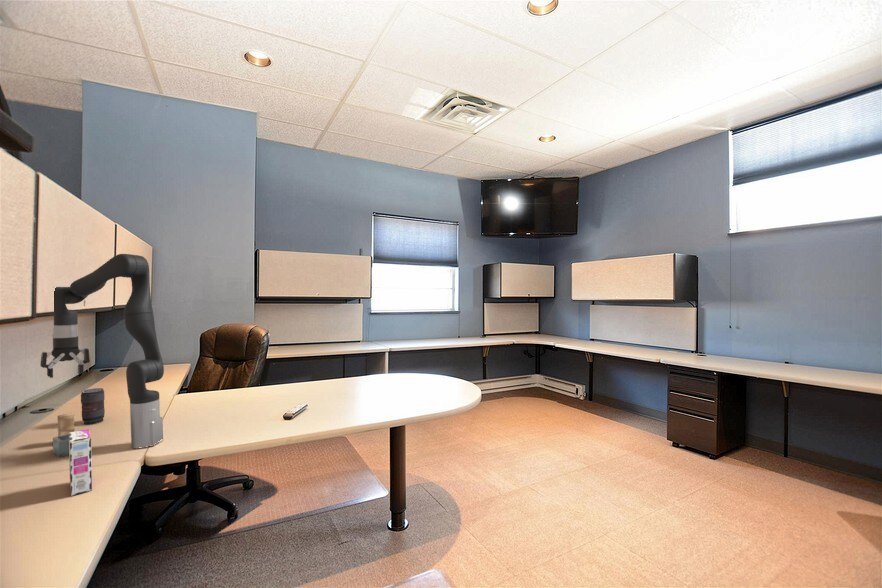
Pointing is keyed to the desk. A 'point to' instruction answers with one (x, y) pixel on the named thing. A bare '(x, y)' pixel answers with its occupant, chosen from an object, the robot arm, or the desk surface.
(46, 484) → the desk surface
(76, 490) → the candy bar box
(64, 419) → the tan wooden block
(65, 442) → the slate open square box
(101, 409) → the camera lens
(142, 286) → the robot arm
